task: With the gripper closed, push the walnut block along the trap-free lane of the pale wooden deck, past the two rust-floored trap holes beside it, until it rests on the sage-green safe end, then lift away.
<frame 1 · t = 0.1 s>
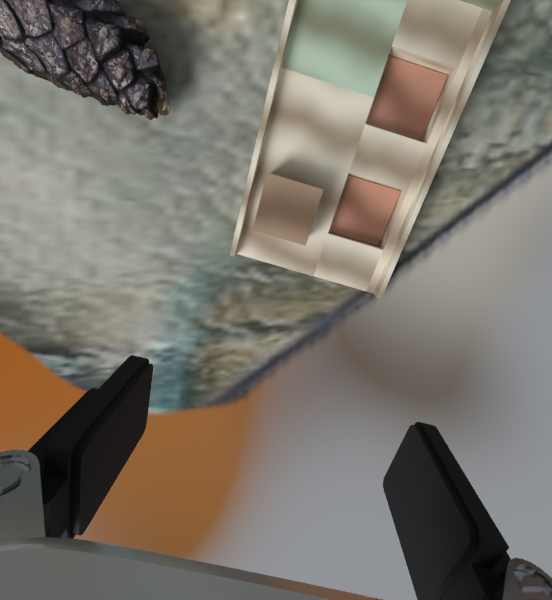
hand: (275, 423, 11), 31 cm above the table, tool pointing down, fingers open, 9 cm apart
pine cone: (107, 53, 34), on the table
walnut block: (287, 207, 36), point 2 cm above the table, touching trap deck
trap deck: (345, 148, 36), on the table
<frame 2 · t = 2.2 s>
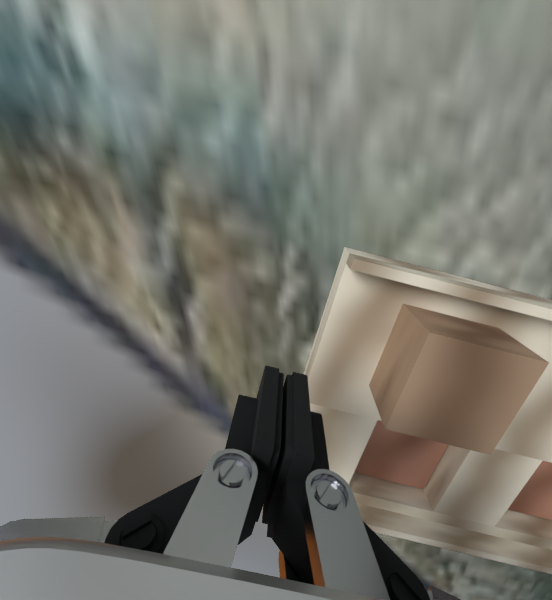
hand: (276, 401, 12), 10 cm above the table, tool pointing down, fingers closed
walnut block: (430, 357, 20), point 2 cm above the table, touching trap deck
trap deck: (498, 420, 23), on the table
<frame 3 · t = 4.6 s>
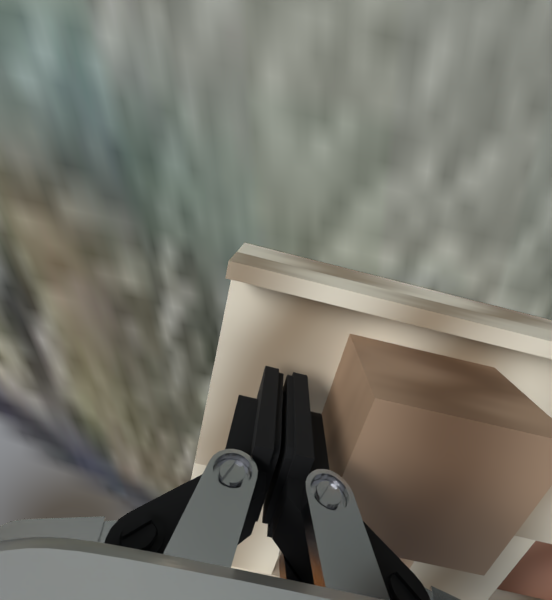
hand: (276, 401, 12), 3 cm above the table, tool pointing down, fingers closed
walnut block: (395, 410, 13), point 2 cm above the table, touching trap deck
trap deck: (475, 480, 17), on the table
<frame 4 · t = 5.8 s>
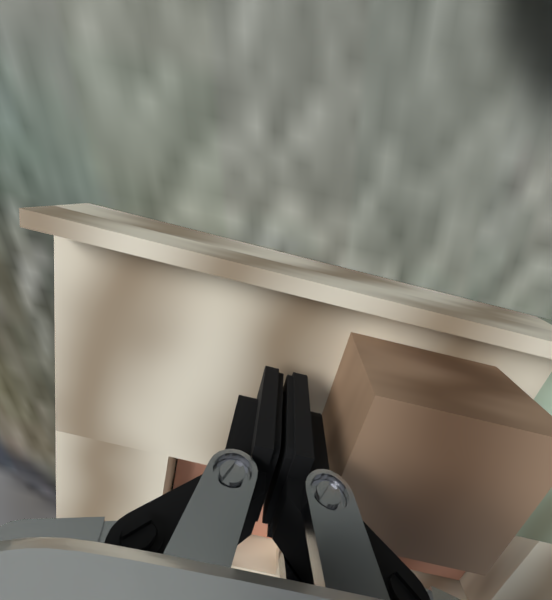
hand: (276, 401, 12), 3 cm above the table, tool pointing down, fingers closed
walnut block: (396, 409, 13), point 2 cm above the table
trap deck: (356, 452, 17), on the table
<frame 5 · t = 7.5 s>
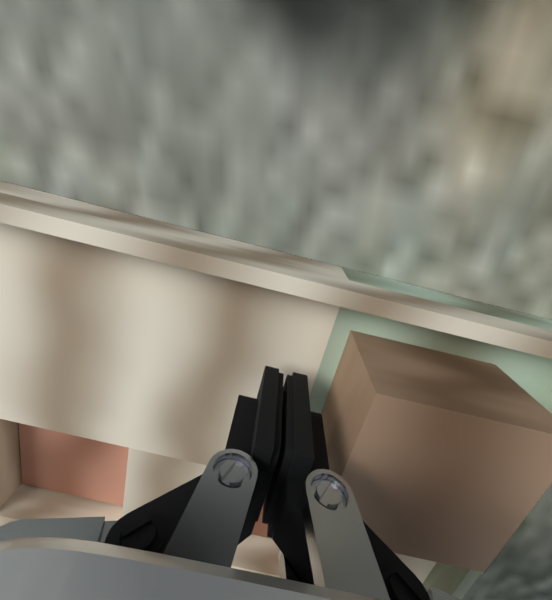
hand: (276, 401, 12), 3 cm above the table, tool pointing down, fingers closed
walnut block: (396, 407, 13), point 2 cm above the table, touching gripper, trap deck
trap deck: (195, 414, 17), on the table
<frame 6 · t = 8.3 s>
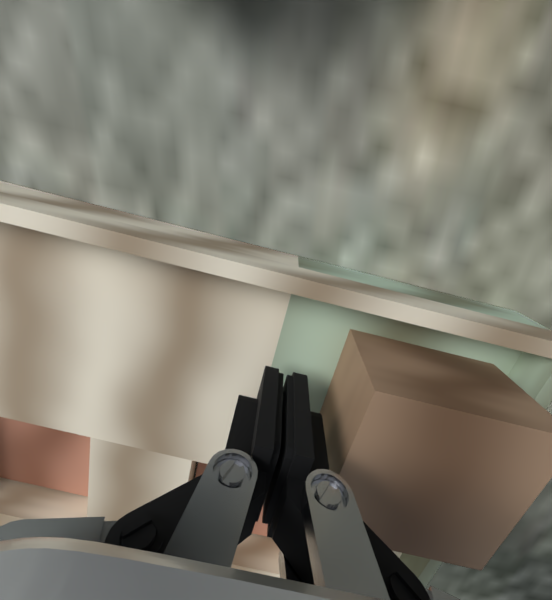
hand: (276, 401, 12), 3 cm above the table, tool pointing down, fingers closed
walnut block: (394, 406, 13), point 2 cm above the table, touching gripper, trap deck
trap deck: (160, 405, 17), on the table
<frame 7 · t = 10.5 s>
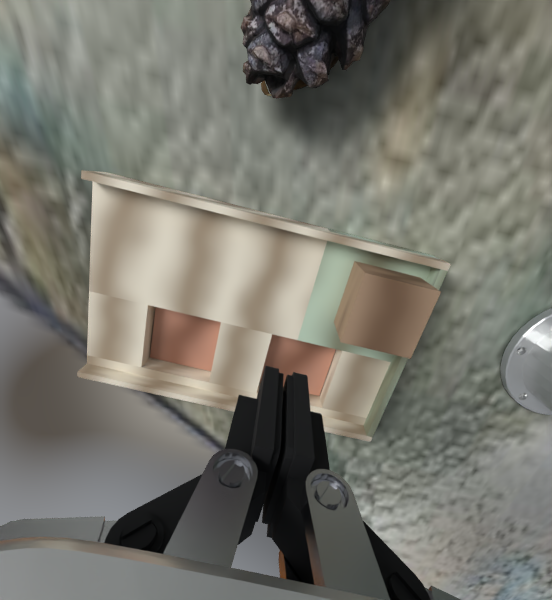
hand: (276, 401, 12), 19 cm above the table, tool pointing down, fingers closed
walnut block: (375, 300, 28), point 2 cm above the table, touching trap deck
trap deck: (251, 310, 31), on the table
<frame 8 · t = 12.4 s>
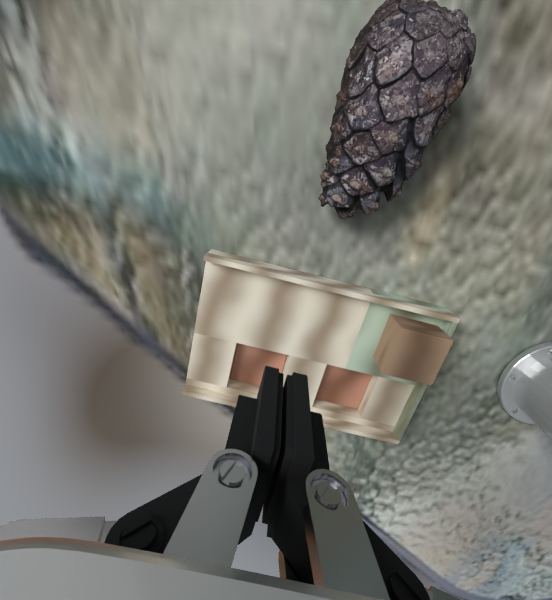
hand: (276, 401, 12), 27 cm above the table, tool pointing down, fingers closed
pine cone: (374, 133, 33), on the table
walnut block: (404, 341, 38), point 2 cm above the table, touching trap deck
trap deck: (309, 345, 42), on the table
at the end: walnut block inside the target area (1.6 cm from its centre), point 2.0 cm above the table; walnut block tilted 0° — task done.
